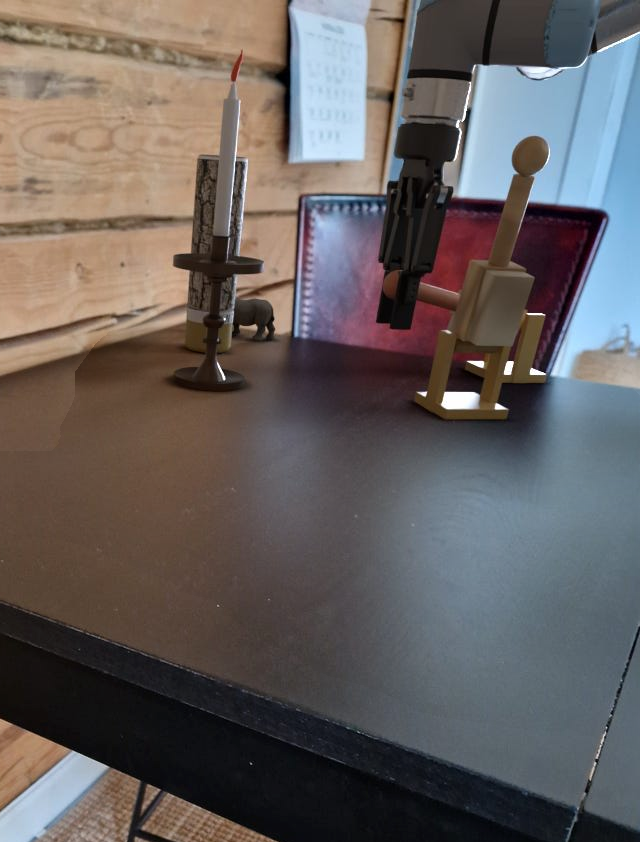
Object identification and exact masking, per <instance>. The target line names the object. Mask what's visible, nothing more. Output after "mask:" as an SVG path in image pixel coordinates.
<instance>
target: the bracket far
mask: <svg viewBox="0 0 640 842" xmlns="http://www.w3.org/2000/svg"><path fill="white" fill-rule="evenodd" d="M545 319H546V314H543V313H531V312H529V313H528V312H527V313H526V315H525V319H524V323H523V326H522V329H520V330H521V332H520V335H519V338H518V342H517V347H516V351H515V353H514V359H513V361H507V365H506V369H505V373H504V377H503V381H502V384H546V381H547V377H548V374H547V373H544V372H542V371H539V370H538V369H535V368H533V365H534V360H535V357H536V353H537V349H538V346H539V342H540V337H541V334H542V331H543V327H544V322H545ZM489 357H490V354H489V353H484V358H483V360H466V363H465V366H464V370H465V371H467V372H470V373H472V374H474V375H476V376H479V378H480V377H481V378H483V379H484V378H485V373H486V369H487V365H488V361H489Z"/></svg>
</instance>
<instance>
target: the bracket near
mask: <svg viewBox="0 0 640 842" xmlns="http://www.w3.org/2000/svg"><path fill="white" fill-rule="evenodd" d="M456 339H457V334H456V333H453V332H451V331H448V330H446V329H440V330H439V332H438V338H437V342H436V347H435V351H434V356H433V362H432V367H431V371H430V375H429V380H428V384H427V390H426V391H415V394H414V395H415V396H414V398H413V399H414V400H413V402H414V403H416V404H418V405H419V406H421V407H423V408H424V409H425V410H427V411H428V412H431V413H433V414H435V415H437V416H439V417H440V418H442V419H443V420H507V418H508V414H509V408H507V407H505V406H503V405H501V404H499V403H498V400H499V396H500V393H501V389H502V384H503V383H502V381H503V377H504V373H505V369H506V365H507V362H509V356H510V353H511V348H512V346H498V349H497V351H496V352H495V353H493V354H490V357H489V361H488V365H487V369H486V373H485V378H483V382H482V386H481V391H480V394H479V393H477V392H475V391H446V388H447V383H448V380H449V375H450V370H451V366H452V361H453V356H454V353H453V352H454V348H455V343H456Z"/></svg>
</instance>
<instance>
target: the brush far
mask: <svg viewBox="0 0 640 842" xmlns="http://www.w3.org/2000/svg"><path fill="white" fill-rule="evenodd" d="M398 271H402V270H395V271H392V272H390V273H389V274H388V275H387V276H386V277H385V279H384V282H383V281H382V284H383V291H384V293H385V295H386V296H387V297H388V298H390V299H394V300H395V295H396V290H397V284H398V279H399V275H398ZM461 291H462V289H458V291H457V292H454V291H450V290H448V289H444V288H441V287H438V286H434V285H430V284H428V283H424V282H421V281H420V285H419V290H418V295H417V300H416V302H417V301H418V302H421V303H424V304H427V305H431V306H435V307H437V308H441V309H445V310H449V314H450V315H451V317H450V319H449V322H448V325H447V327H446V328H445V330H448V331H451V327H452V323H453V320H454V316H455V313H456V309H457V306H458V302H459V298H460V295H461ZM526 313H528V309H524V313H523V316H522V319H521V322H520V325H519V328H518V331H517V334H516V335H518V334H519V331H520V330H522V326H523V323H524V319H525V315H526Z"/></svg>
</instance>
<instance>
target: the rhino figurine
mask: <svg viewBox="0 0 640 842" xmlns="http://www.w3.org/2000/svg"><path fill="white" fill-rule="evenodd" d="M274 312H275V311H274V307H273V305H272V304H271V302H269V300H267V299H260V298H250V299H241V298H239V297H237V296H235V305H234V316H233V324H232V335H231V337H233V336H239V335H240V334H241V330H240V327H251V326H254V325H255V326H256V327H257V329H256V332H255V334H254V335H253V336H252V337H251V340H252V341H256V342H258V341H263V339H264V338H263V335H264V334H265V333H266V330H267V332H268V333H267V334H266V336H265V340H267V341H273V340H276V338H275V331H276V327H275V325H274V321H275V315H274Z"/></svg>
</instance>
